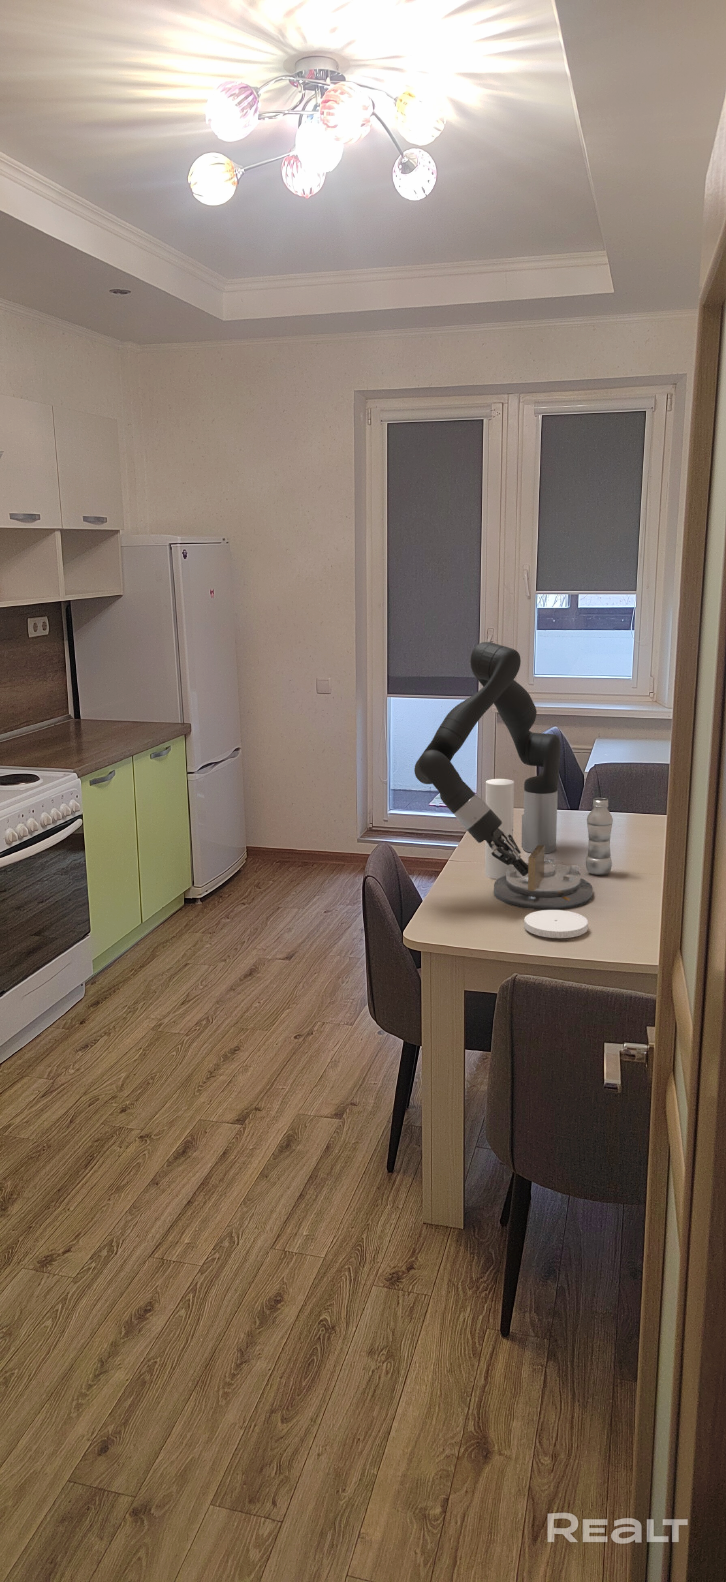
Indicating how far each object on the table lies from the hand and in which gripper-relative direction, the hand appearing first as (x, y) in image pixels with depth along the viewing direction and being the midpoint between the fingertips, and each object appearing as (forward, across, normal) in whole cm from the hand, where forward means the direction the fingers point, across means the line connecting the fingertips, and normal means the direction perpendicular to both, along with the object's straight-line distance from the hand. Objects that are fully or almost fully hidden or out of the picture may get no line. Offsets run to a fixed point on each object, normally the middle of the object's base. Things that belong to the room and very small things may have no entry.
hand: (527, 873), depth 245 cm
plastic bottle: (+15, +32, -3) cm, 36 cm away
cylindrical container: (-2, +24, +15) cm, 28 cm away
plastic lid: (+13, -12, 0) cm, 17 cm away
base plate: (+7, +12, +5) cm, 15 cm away
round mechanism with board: (+6, +10, +3) cm, 12 cm away
